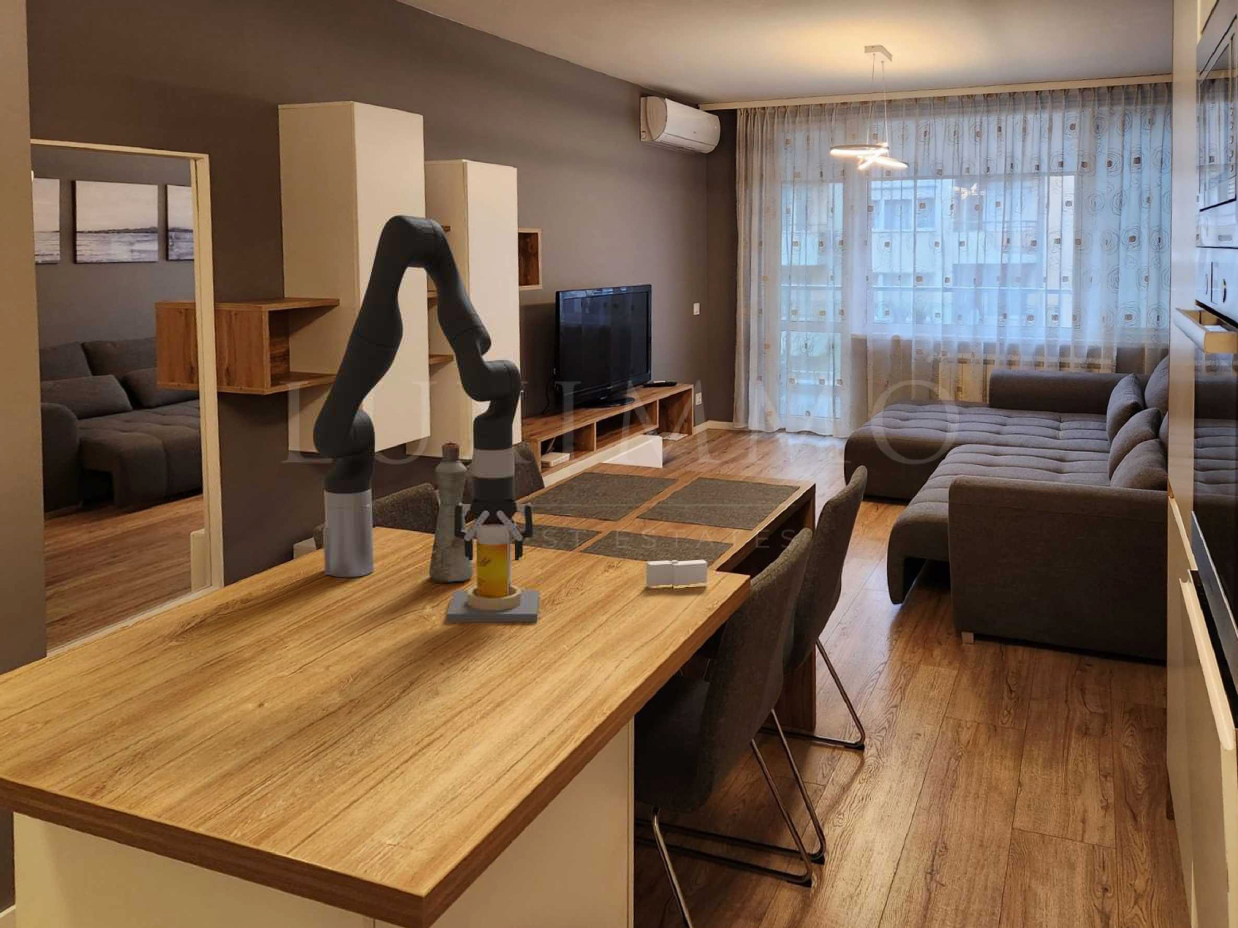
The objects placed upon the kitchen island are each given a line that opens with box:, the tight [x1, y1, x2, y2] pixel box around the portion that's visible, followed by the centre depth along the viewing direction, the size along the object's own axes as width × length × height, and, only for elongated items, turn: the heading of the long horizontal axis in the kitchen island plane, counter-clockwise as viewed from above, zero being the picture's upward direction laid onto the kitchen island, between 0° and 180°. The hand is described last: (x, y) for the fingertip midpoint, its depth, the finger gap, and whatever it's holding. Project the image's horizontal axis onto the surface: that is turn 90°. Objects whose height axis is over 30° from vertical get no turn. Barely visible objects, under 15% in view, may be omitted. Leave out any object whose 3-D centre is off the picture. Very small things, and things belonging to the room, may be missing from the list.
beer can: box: [475, 524, 512, 598], centre depth 202 cm, size 6×6×15 cm
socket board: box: [446, 584, 540, 623], centre depth 204 cm, size 16×14×4 cm
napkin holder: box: [645, 559, 708, 587], centre depth 220 cm, size 15×11×6 cm
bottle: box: [428, 441, 474, 583], centre depth 220 cm, size 9×9×28 cm
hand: (494, 559), depth 202 cm, fingers open, 8 cm apart
